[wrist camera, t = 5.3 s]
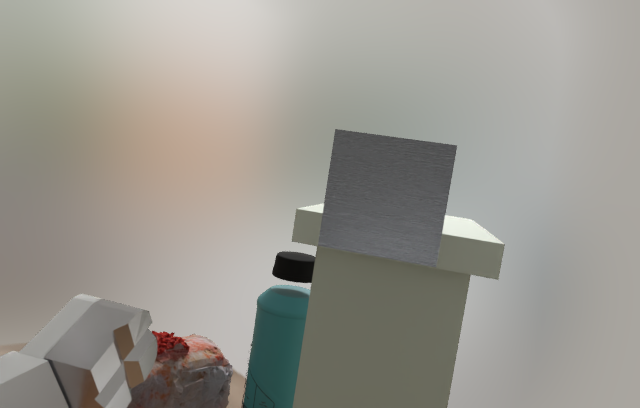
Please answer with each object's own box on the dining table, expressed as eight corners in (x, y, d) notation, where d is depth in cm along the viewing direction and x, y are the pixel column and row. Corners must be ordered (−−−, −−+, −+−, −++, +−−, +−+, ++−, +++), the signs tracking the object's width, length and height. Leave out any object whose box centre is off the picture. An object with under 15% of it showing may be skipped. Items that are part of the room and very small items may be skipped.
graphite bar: (436, 267, 12) (457, 145, 12) (317, 245, 12) (335, 129, 12) (428, 213, 33) (436, 170, 33) (385, 206, 34) (392, 163, 34)
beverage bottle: (315, 477, 44) (349, 263, 43) (248, 492, 41) (282, 261, 40) (284, 437, 50) (313, 247, 48) (222, 448, 47) (251, 244, 45)
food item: (184, 395, 56) (195, 312, 55) (231, 425, 51) (244, 334, 50) (63, 437, 45) (75, 334, 44) (110, 480, 40) (124, 366, 39)
